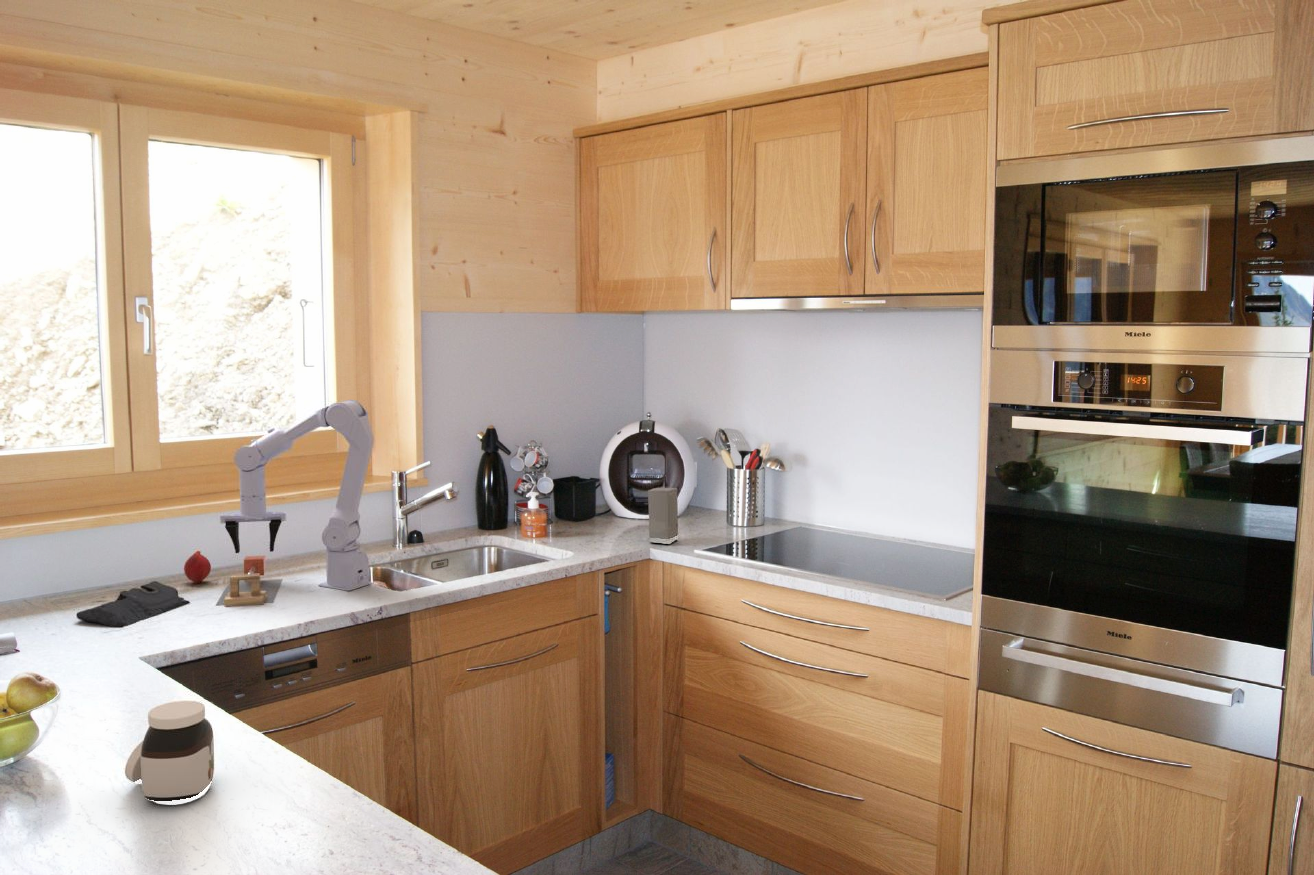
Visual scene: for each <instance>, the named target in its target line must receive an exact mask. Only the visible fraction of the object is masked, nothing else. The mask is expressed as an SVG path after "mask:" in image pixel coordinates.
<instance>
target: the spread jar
mask: <svg viewBox="0 0 1314 875" xmlns="http://www.w3.org/2000/svg"><path fill="white" fill-rule="evenodd" d="M205 708H206V707H205V704H203V702H200V701H195V700H179V701H178V700H176V701H169V702H166V703H162V704H159V705H157V706H155V707H153V708H151V709H150V710H149V711H148V713H147V719H148V720H147V721H148V726H149V727H148V728H147V730H146V732H145V735H144V738H143V740H142V741H141V742H140V743H139V744H138V745H136V747H135V748H134V749H133V751H132V752H131V753H130V755H129V757H128V758H127V761H126V764H125V767H124V775H125V777H126V779H127V780H129V781H130V782H131V783H133V782H135V781H137V780H139V779H141V780H142V785H141V790H142V794H143V797H144V798H145V799H146V798H147V799H149V800H154V801H172V800H180V799H186V798H191V797H193V796H196V795H198V794H199V793H200V792H202V791H203V790H204V789H205V788H206V787H207V786H208V785H209V784H210V782H211V781H212V782H213V777H214V771H215V745H214V744H215V740H214V731H213V726H212V724H211V723H210V722H209V720H208V719H207V718H206V709H205ZM147 799H146V800H147Z"/></svg>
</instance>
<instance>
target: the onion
mask: <svg viewBox="0 0 1314 875" xmlns="http://www.w3.org/2000/svg"><path fill="white" fill-rule="evenodd" d="M183 570H184V575H185V576H186V578H187V579H188V580H190V581H191V582H193V583H195V584H201V583H202V582H203V581H204V580H205V579H206V578H207V577H208V576H209V575H210V573H211V570H212V564H211V562H210V560H209V559H208V558H207V557H206V556H204V555H203V554H201V550H199V549H198V550H195V551H194V553H193V554H192V555H191V556H190V557H188V559H187V560H186V561H185V563H184V567H183ZM200 582H201V583H200Z"/></svg>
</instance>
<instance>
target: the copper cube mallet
mask: <svg viewBox="0 0 1314 875" xmlns="http://www.w3.org/2000/svg"><path fill="white" fill-rule="evenodd" d="M266 567H267V566H266V555H251V556H249V555H248V556H247V555H246V556H245V557H244V558H243V574H258V573H260V577H261V576H265V574H266ZM243 581H244V582H245V583H250V582H251V580H243Z"/></svg>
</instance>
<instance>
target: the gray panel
mask: <svg viewBox="0 0 1314 875" xmlns="http://www.w3.org/2000/svg"><path fill="white" fill-rule="evenodd" d="M282 581H283V578H277V579H276V578H274V579H272V578H271V579H260V591H266V599H265V601H264V604H273V603H274V602H275V599H276V597H277V594H278V592H279V589H280V586H281V585H282ZM239 592H251V582H250V583H245V582H244V580H239ZM228 593H230V581H229V582H228V583H227V585H226V587H225V588H224V591H223V592H222V594H221V595H220V597H219V598H218V600H217V602H216V604H215V606H224V599H225V597H226V596H227V594H228Z"/></svg>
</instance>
